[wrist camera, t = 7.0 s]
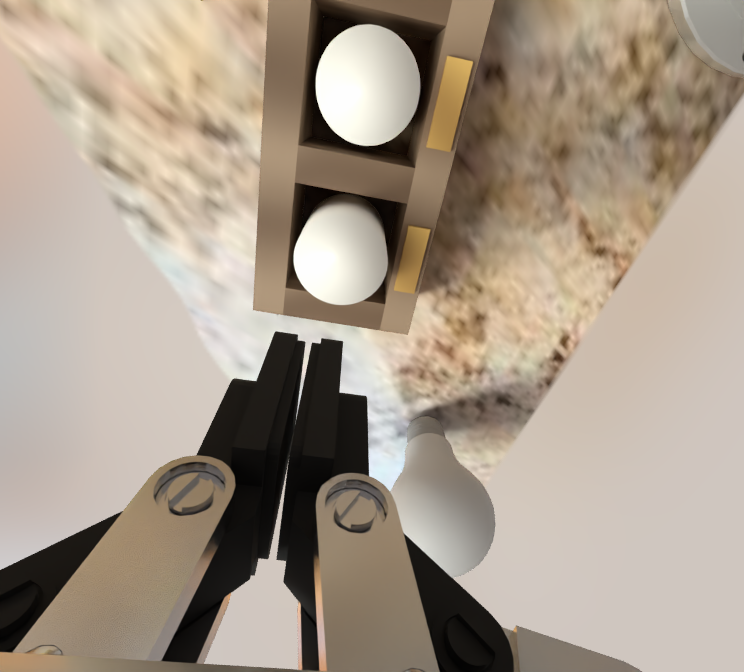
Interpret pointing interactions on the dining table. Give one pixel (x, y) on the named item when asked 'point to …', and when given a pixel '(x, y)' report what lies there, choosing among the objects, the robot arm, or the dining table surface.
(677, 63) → the dining table surface
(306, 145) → the wooden egg rack
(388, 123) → the button middle
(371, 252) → the white egg
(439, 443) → the lightbulb
